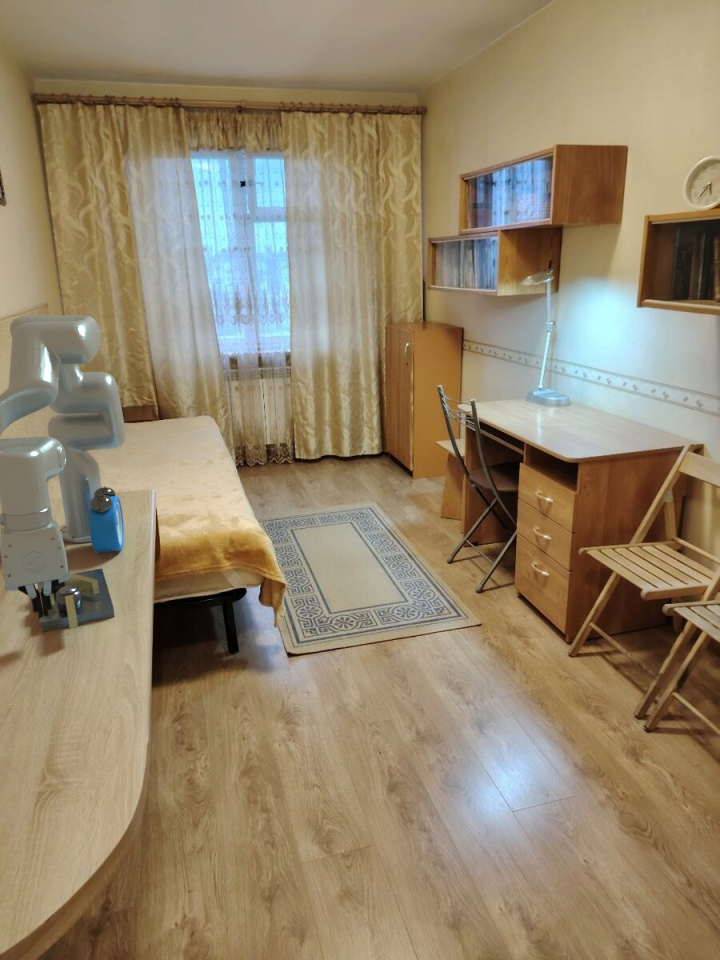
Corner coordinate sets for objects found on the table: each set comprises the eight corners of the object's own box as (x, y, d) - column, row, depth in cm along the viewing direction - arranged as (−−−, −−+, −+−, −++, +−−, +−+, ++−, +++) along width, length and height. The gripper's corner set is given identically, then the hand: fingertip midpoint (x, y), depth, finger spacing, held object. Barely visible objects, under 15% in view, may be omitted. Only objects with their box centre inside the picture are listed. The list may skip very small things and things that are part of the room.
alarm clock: (120, 559, 157) (113, 499, 152) (92, 562, 155) (84, 501, 151) (125, 538, 169) (119, 482, 164) (99, 541, 168) (92, 484, 163)
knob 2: (57, 603, 132) (54, 586, 131) (81, 598, 134) (79, 582, 132) (61, 633, 121) (58, 615, 120) (87, 627, 123) (84, 610, 122)
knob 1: (43, 588, 138) (40, 572, 137) (60, 580, 141) (58, 564, 140) (88, 601, 132) (85, 584, 131) (105, 591, 136) (103, 575, 135)
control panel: (38, 588, 143) (35, 569, 141) (103, 576, 148) (100, 558, 147) (41, 632, 126) (38, 611, 124) (114, 616, 131) (112, 596, 130)
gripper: (-23, 532, 109) (-4, 633, 115) (76, 518, 116) (89, 614, 121) (-20, 518, 116) (-3, 614, 121) (73, 505, 122) (85, 597, 127)
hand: (43, 613), depth 121 cm, fingers closed
